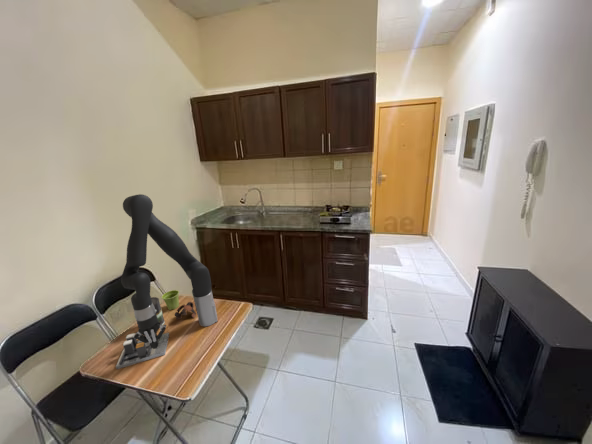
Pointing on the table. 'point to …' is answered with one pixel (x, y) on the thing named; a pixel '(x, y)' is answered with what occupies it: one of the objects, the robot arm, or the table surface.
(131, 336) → the block
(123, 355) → the breaker panel
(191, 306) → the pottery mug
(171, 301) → the plant pot
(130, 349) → the block
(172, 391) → the table surface
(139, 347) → the breaker
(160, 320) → the coffee can
